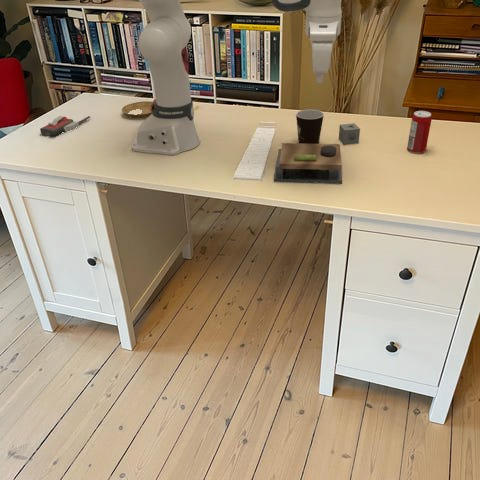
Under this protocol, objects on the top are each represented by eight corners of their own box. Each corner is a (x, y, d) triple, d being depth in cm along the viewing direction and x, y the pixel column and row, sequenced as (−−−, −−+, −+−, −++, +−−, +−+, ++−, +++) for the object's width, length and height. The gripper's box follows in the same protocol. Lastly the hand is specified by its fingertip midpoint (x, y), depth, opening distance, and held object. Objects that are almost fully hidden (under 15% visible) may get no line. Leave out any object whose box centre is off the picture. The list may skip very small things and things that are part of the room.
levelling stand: (273, 182, 139) (273, 169, 137) (277, 159, 151) (277, 147, 149) (342, 183, 137) (343, 170, 134) (340, 160, 149) (341, 148, 147)
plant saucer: (123, 123, 183) (122, 116, 181) (121, 110, 194) (120, 103, 193) (163, 118, 185) (162, 111, 184) (159, 105, 197) (158, 99, 196)
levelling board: (279, 168, 137) (279, 158, 135) (282, 147, 148) (282, 138, 147) (341, 169, 135) (342, 159, 133) (339, 148, 146) (340, 139, 145)
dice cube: (358, 143, 159) (360, 128, 156) (343, 145, 158) (344, 130, 156) (353, 137, 163) (354, 123, 160) (338, 139, 162) (339, 124, 160)
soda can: (429, 150, 152) (436, 113, 146) (418, 155, 150) (425, 117, 143) (414, 145, 156) (420, 108, 149) (403, 150, 153) (409, 112, 147)
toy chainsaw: (57, 140, 171) (93, 120, 186) (54, 128, 169) (90, 109, 184) (37, 137, 174) (74, 118, 189) (34, 125, 172) (71, 107, 187)
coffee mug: (321, 150, 156) (322, 119, 150) (293, 148, 157) (294, 118, 152) (323, 135, 165) (325, 106, 159) (297, 134, 167) (298, 105, 161)
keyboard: (257, 123, 178) (257, 119, 177) (279, 124, 177) (279, 119, 176) (233, 180, 142) (233, 176, 141) (261, 182, 140) (261, 177, 140)
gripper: (311, 18, 134) (308, 70, 142) (309, 35, 117) (306, 93, 125) (334, 18, 133) (330, 70, 141) (336, 35, 116) (332, 93, 124)
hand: (319, 81), depth 133 cm, fingers closed
